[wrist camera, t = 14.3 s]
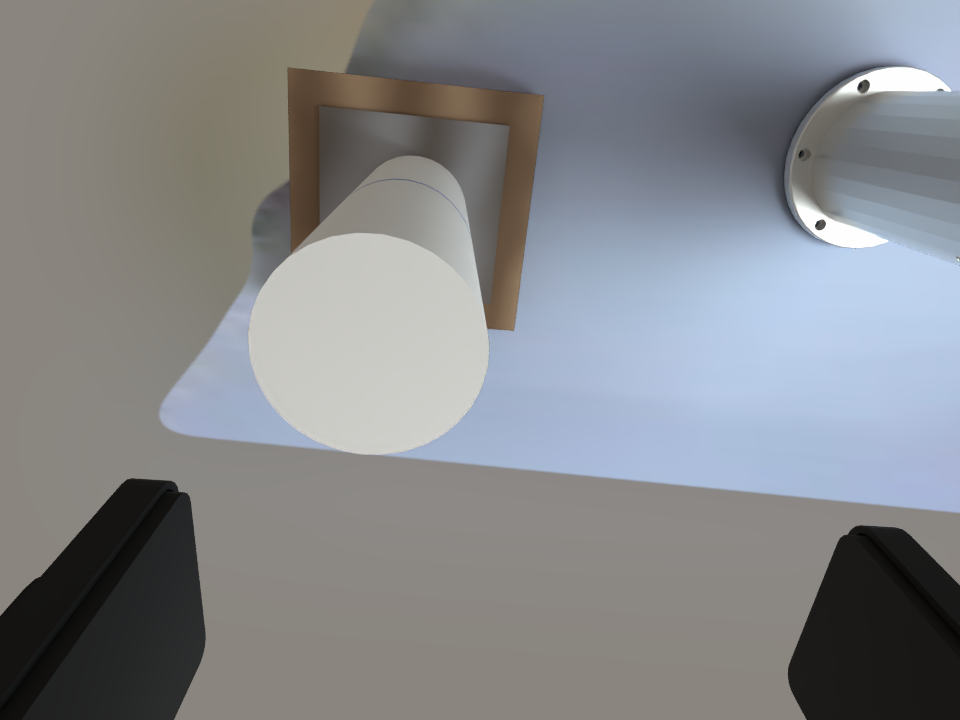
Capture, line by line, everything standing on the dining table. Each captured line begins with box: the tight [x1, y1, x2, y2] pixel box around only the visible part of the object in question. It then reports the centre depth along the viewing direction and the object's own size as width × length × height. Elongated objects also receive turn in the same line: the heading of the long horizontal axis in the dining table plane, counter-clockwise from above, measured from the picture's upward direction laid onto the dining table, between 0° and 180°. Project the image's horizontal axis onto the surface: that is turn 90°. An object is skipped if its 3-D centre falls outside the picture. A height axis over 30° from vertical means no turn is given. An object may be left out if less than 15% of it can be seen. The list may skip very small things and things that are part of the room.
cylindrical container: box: [248, 155, 489, 455], centre depth 30 cm, size 7×7×25 cm
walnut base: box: [288, 68, 544, 331], centre depth 44 cm, size 16×16×4 cm
